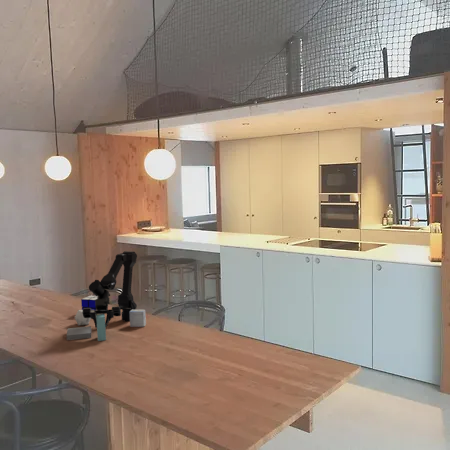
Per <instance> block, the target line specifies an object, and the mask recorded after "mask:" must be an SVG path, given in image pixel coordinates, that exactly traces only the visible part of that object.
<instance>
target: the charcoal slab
mask: <svg viewBox="0 0 450 450" xmlns="http://www.w3.org/2000/svg"><path fill="white" fill-rule="evenodd" d="M91 338H92V326H91V325H90V326H88V325H87V326H78V327H71V328H69V327H68V328H67V330H66V341H72V340H73V341H74V340H83V339H91Z"/></svg>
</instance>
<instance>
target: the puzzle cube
mask: <svg viewBox="0 0 450 450" xmlns="http://www.w3.org/2000/svg"><path fill="white" fill-rule="evenodd" d="M97 297H98V296H95V295H88V296H85V297H83V298H81V300H80V303H81V310H83V309H84V308H91V310H96V308H95V307H96V306H95V300H96V299H97ZM96 315H98V314H96Z"/></svg>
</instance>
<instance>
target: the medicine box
mask: <svg viewBox="0 0 450 450" xmlns="http://www.w3.org/2000/svg"><path fill="white" fill-rule="evenodd" d="M129 313H130V321H129V327H131V328H138V327H139V328H143V327H145V326H146V325H147V319H146V309H136V310H131V311H130V312H129Z"/></svg>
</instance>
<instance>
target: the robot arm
mask: <svg viewBox="0 0 450 450" xmlns="http://www.w3.org/2000/svg"><path fill="white" fill-rule="evenodd" d="M137 258H138V253H136V252H135V251H133V250H132V251H131V250H129V251H127V250H125V251H123V252H121V253H117V254H116V255H115V259H114V260H113V263H112V265H111V267H110V269H109V270H108V272H107V274H105V275H104V276H103V277H102V278H101V280H99V279H95V280H94V281H92V282H91V283H90V284H89V285H88V289H89V291H90V292H91V293H92V294H93V296H98V297H97V299H96V300H95V306H96V307H95V308H96V310H91V308H84V309H83V312H82V313H83V316H84V318H91V319H90V320H93V322H94V327H95V328H96V329H97V318H96V314H104V315H106V316H105V328H107V327H108V325H109V323H110V321H112V319H114V318H115V317H120V316H121V320H122V322H130V313H129V312H130V311H131V310H137V303H136V302H135V301H134V295H133V294H132V283H133V268H134V266H135V264H136V263H137ZM122 266H123V275H122V276H123V277H122V289H121V292H120V294H118V296H117V305H118V306H112V307H111V309H109V305H110V302H111V301H110V296H111V293H110V292H109V291H113V290H114V289H115V287H116V285H117V277H118V275H119V273H120V271H121V269H122ZM108 290H109V291H108Z"/></svg>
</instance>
